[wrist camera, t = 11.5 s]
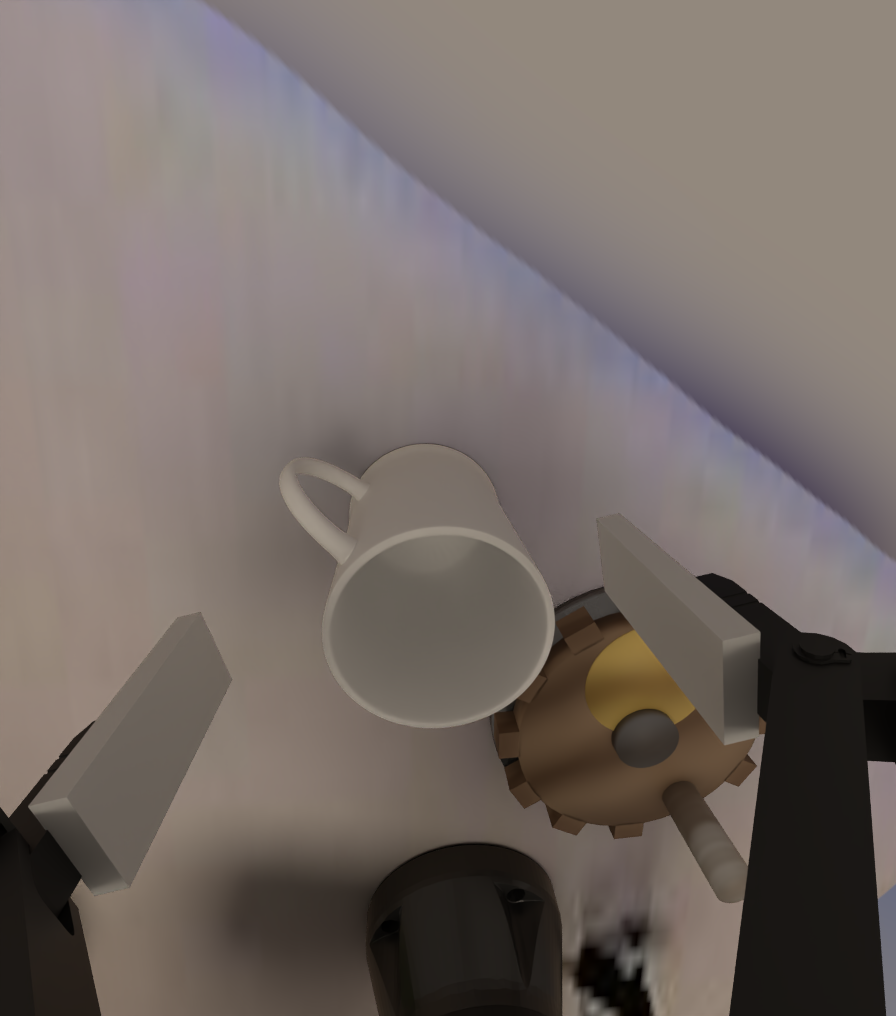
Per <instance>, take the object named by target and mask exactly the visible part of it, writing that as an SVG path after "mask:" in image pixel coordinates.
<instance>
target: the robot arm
mask: <svg viewBox="0 0 896 1016" xmlns="http://www.w3.org/2000/svg"><path fill="white" fill-rule="evenodd" d="M596 521H597V529H598V538H599V546H600V555H601V564H602V572H603V581H604V589H605V592H606V593H607V595H608V596H609V597H610V599H611V600H612V601H613V602H614V604H615V605H616V606H617V608H618V609H619V610H620V612H621V613H622V614H623V615H624V617H625V618H626V619H627V621H628V622H629V623H630V624H631V626H632V627H633V628H634V630H635V631H636V632H637V633H638V635H639V636H640V637H641V639H642V640H643V641H644V642H645V644H646V645H647V646H648V648H649V649H650V650H651V651H652V653H653V654H654V655H655V657H656V658H657V659H658V661H659V662H660V663H661V664H662V666H663V667H664V668H665V670H666V671H667V672H668V673H669V675H670V676H671V677H672V679H673V680H674V681H675V682H676V684H677V685H678V686H679V688H680V689H681V690H682V691H683V693H684V694H685V695H686V697H687V698H688V699H689V700H690V702H691V703H692V704H693V706H694V707H695V708H696V710H697V711H698V712H699V713H700V715H701V716H702V717H703V719H704V720H705V721H706V722H707V724H708V725H709V726H710V728H711V729H712V730H713V731H714V733H715V734H716V735H717V737H718V738H719V739H720V740H721V742H722V743H723V744H724V745H728V744H732V743H736V742H741V741H745V740H749V739H753V738H757V737H759V716H760V717H761V718H762V719H763V720H764V721H765V722H766V729H765V737H764V745H763V753H762V761H761V769H760V777H759V785H758V793H757V801H756V808H755V816H754V824H753V832H752V840H751V848H750V856H749V864H748V872H747V880H746V887H745V895H744V903H743V911H742V919H741V927H740V935H739V943H738V951H737V959H736V966H735V974H734V982H733V990H732V998H731V1006H730V1014H729V1016H886V1009H885V1008H886V1007H885V994H884V981H883V966H882V954H881V939H880V926H879V912H878V899H877V885H876V872H875V858H874V844H873V831H872V817H871V804H870V790H869V777H868V763H867V761H882V762H895V764H896V653H860V652H855V651H854V650H853V649H852V648H850V647H849V646H848V645H847V644H845V643H843V642H841V641H839V640H837V639H835V638H833V637H829V636H825V635H821V634H817V633H802V632H800V631H798V630H797V629H796V628H794V627H793V626H792V625H790V624H789V623H788V622H786V621H785V620H784V619H782V618H781V617H780V616H778V615H777V614H776V613H774V612H773V611H772V610H770V609H769V608H768V607H767V606H765V605H764V604H763V603H759V601H758V600H757V599H756V598H755V597H753V596H752V595H751V594H747V591H745V590H744V589H743V588H741V587H740V586H739V585H737V584H736V583H735V582H733V581H732V580H729V579H727V578H724V577H722V576H719V575H716V574H714V573H710V574H706V575H702V576H698V577H694V576H693V575H692V574H691V573H690V572H688V571H687V570H686V569H685V568H684V567H683V566H681V565H680V564H679V563H678V562H677V561H675V560H674V559H673V558H672V557H671V556H669V555H668V554H667V553H666V552H665V551H664V550H662V549H661V548H660V547H659V546H658V545H656V544H655V543H654V542H653V541H652V540H650V539H649V538H648V537H647V536H646V535H644V534H643V533H642V532H641V531H640V530H639V529H637V528H636V527H635V526H634V525H633V524H631V523H630V522H629V521H628V520H627V519H625V518H624V517H623V516H622V515H621V514H620V513H618V514H614V515H610V516H606V517H601V518H597V519H596ZM231 681H232V678H231V676H230V674H229V672H228V669H227V667H226V665H225V663H224V661H223V659H222V657H221V654H220V652H219V650H218V648H217V646H216V644H215V642H214V639H213V637H212V635H211V633H210V631H209V629H208V627H207V625H206V622H205V620H204V618H203V616H202V614H201V612H199V613H195V614H191V615H186V616H182V617H178V618H177V619H176V620H175V621H174V623H173V624H172V625H171V626H170V628H169V629H168V630H167V631H166V633H165V634H164V635H163V637H162V638H161V639H160V640H159V642H158V643H157V644H156V645H155V647H154V648H153V649H152V650H151V652H150V653H149V654H148V655H147V657H146V658H145V659H144V661H143V662H142V663H141V664H140V666H139V667H138V668H137V669H136V671H135V672H134V673H133V674H132V676H131V677H130V678H129V679H128V681H127V682H126V683H125V685H124V686H123V687H122V688H121V690H120V691H119V692H118V693H117V695H116V696H115V697H114V698H113V700H112V701H111V702H110V703H109V705H108V706H107V707H106V709H105V710H104V711H103V712H102V714H101V715H100V716H99V717H98V719H97V720H96V721H93V722H92V723H91V724H90V725H89V726H87V727H86V728H85V729H84V730H83V731H82V732H80V733H79V734H78V735H77V736H76V737H75V738H73V740H72V741H71V742H70V743H69V745H68V746H67V747H66V748H65V750H64V751H63V752H62V753H61V754H60V756H59V759H57V760H56V761H55V762H54V763H53V764H52V766H51V767H50V768H49V769H48V770H47V771H48V773H47V774H44V775H43V777H42V778H41V779H40V780H39V782H38V783H37V784H36V785H35V786H34V788H33V789H32V790H31V791H30V793H29V794H28V795H27V796H26V798H25V799H24V800H23V801H22V802H21V804H20V805H19V806H18V807H17V809H16V810H15V811H14V812H13V814H12V815H11V816H10V817H9V818H8V817H7V815H6V814H5V813H4V811H3V810H2V809H1V807H0V1016H101V1012H100V1007H99V1003H98V998H97V994H96V989H95V984H94V980H93V975H92V970H91V966H90V961H89V957H88V952H87V947H86V943H85V938H84V934H83V929H82V924H81V920H80V915H79V911H78V908H77V906H76V905H75V903H74V902H73V901H72V899H71V898H70V896H71V894H72V893H73V891H74V889H75V888H76V886H77V884H78V882H79V881H80V879H82V880H83V881H84V883H85V884H86V885H87V887H88V888H89V889H90V891H91V892H92V893H93V895H94V896H97V895H101V894H106V893H110V892H114V891H118V890H122V889H126V888H130V886H131V884H132V882H133V880H134V878H135V876H136V874H137V872H138V870H139V867H140V865H141V863H142V861H143V859H144V857H145V855H146V853H147V851H148V849H149V847H150V845H151V843H152V841H153V839H154V837H155V835H156V833H157V831H158V829H159V827H160V825H161V823H162V821H163V819H164V817H165V815H166V813H167V811H168V809H169V807H170V805H171V803H172V801H173V799H174V797H175V795H176V793H177V790H178V788H179V786H180V784H181V782H182V780H183V778H184V776H185V774H186V772H187V770H188V768H189V766H190V764H191V762H192V760H193V758H194V756H195V754H196V752H197V750H198V748H199V746H200V744H201V742H202V740H203V738H204V736H205V734H206V732H207V730H208V728H209V726H210V724H211V722H212V720H213V718H214V715H215V713H216V711H217V709H218V707H219V705H220V703H221V701H222V699H223V697H224V695H225V693H226V691H227V689H228V687H229V685H230V683H231ZM366 956H367V962H368V967H369V972H370V976H371V981H372V986H373V990H374V995H375V999H376V1004H377V1009H378V1013H379V1016H562V923H561V916H560V912H559V908H558V905H557V901H556V897H555V894H554V890H553V887H552V884H551V881H550V879H549V878H548V876H547V874H546V873H545V872H544V871H543V869H542V868H541V867H540V866H539V865H537V864H536V863H535V862H534V861H532V860H531V859H529V858H527V857H526V856H524V855H522V854H520V853H517V852H515V851H512V850H508V849H505V848H501V847H495V846H487V845H463V846H455V847H449V848H445V849H440V850H437V851H433V852H430V853H427V854H425V855H422V856H420V857H418V858H416V859H414V860H412V861H410V862H408V863H406V864H405V865H403V866H402V867H400V868H399V869H397V870H396V871H395V872H393V873H392V874H391V875H390V876H389V877H388V878H387V879H386V880H385V881H384V882H383V883H382V884H381V885H380V887H379V888H378V889H377V891H376V892H375V894H374V896H373V898H372V900H371V902H370V905H369V909H368V915H367V931H366Z"/></svg>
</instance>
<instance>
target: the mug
mask: <svg viewBox="0 0 896 1016" xmlns="http://www.w3.org/2000/svg"><path fill="white" fill-rule="evenodd" d="M296 474H306V475H311V476H315V477H318V478H320V479H323V480H325V481H328V482H330V483H332V484H334V485H336V486H338V487H340V488H342V489H343V490H345V491H346V492H348V493H349V494H351V495H352V498H351V502H350V509H349V525H348V529H347V532H346V533H345V532H344V531H342V530H341V529H339V528H338V527H337V526H336V525H334V524H333V523H332V522H331V521H330V520H329V519H328V518H327V517H326V516H325V515H324V514H323V513H322V512H321V511H320V510H319V509H318V508H317V507H316V506H315V505H314V504H313V503H312V501H311V500H310V499H309V498H308V496H307V495H306V494H305V492H304V491H303V489H302V487H301V486H300V484H299V481H298V479H297V476H296ZM279 486H280V491H281V494H282V497H283V499H284V501H285V503H286V505H287V506H288V508H289V510H290V511H291V513H292V514H293V515H294V517H295V518H296V519H297V521H298V522H299V523H300V524H301V526H302V527H303V528H304V529H305V530H306V531H307V532H308V533H309V534H310V535H311V536H312V537H313V538H314V539H315V540H316V541H317V542H318V543H319V544H320V545H321V546H322V547H323V548H324V549H325V550H327V551H328V552H329V553H330V554H331V555H332V556H333V557H334V558H335V559H336V560H337V562H338V563H337V567H336V570H335V574H334V577H333V581H332V584H331V588H330V591H329V595H328V598H327V602H326V606H325V610H324V614H323V621H322V644H323V650H324V654H325V658H326V661H327V664H328V666H329V668H330V670H331V672H332V674H333V676H334V678H335V679H336V681H337V682H338V684H339V685H340V687H341V688H342V689H343V690H344V691H345V693H346V694H347V695H348V696H349V697H350V698H351V699H353V700H354V701H355V702H356V703H357V704H359V705H360V706H361V707H363V708H364V709H366V710H367V711H369V712H371V713H372V714H374V715H376V716H378V717H380V718H383V719H385V720H388V721H390V722H393V723H397V724H401V725H405V726H410V727H417V728H447V727H454V726H460V725H464V724H468V723H472V722H475V721H478V720H480V719H483V718H485V717H488V716H490V715H492V714H494V713H496V712H498V711H499V710H501V709H503V708H504V707H506V706H507V705H509V704H510V703H511V702H513V701H514V700H515V699H517V698H518V697H519V696H520V695H521V694H522V693H523V692H524V691H525V690H526V689H527V688H528V687H529V686H530V685H531V684H532V682H533V681H534V680H535V679H536V677H537V676H538V674H539V673H540V671H541V669H542V668H543V666H544V664H545V662H546V660H547V658H548V655H549V652H550V649H551V646H552V642H553V637H554V630H555V614H554V606H553V602H552V598H551V595H550V592H549V589H548V587H547V584H546V582H545V580H544V578H543V577H542V575H541V573H540V571H539V570H538V568H537V566H536V565H535V563H534V561H533V559H532V558H531V556H530V554H529V553H528V551H527V549H526V548H525V546H524V544H523V543H522V541H521V539H520V538H519V536H518V534H517V533H516V531H515V529H514V528H513V526H512V524H511V523H510V521H509V519H508V518H507V516H506V514H505V513H504V511H503V509H502V508H501V506H500V504H499V503H498V498H497V495H496V492H495V489H494V487H493V484H492V482H491V481H490V479H489V477H488V476H487V474H486V473H485V472H484V470H483V469H482V468H481V467H480V466H479V465H478V464H477V463H476V462H475V461H473V460H472V459H471V458H469V457H468V456H466V455H465V454H463V453H461V452H459V451H457V450H455V449H452V448H449V447H446V446H441V445H435V444H415V445H409V446H405V447H402V448H399V449H396V450H394V451H391V452H389V453H387V454H386V455H384V456H382V457H381V458H379V459H378V460H377V461H376V462H374V463H373V464H372V465H371V466H370V467H369V468H368V469H367V470H366V471H365V473H364V474H363V475H362V477H361V478H360V479H359V478H357V477H355V476H353V475H352V474H350V473H348V472H346V471H345V470H343V469H341V468H339V467H336V466H334V465H332V464H330V463H327V462H324V461H321V460H318V459H314V458H308V457H301V458H296V459H293V460H292V461H290V462H289V463H288V464H287V465H286V466H285V467H284V469H283V470H282V472H281V475H280V479H279Z"/></svg>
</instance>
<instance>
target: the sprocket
mask: <svg viewBox="0 0 896 1016" xmlns="http://www.w3.org/2000/svg"><path fill="white" fill-rule="evenodd" d="M555 623H556V625H557V627H558V629H559V630H560V632H561V634H562V636H563V638H562V639H561V640H559V641H558V642H557V643H556V644H555V645H553V646H552V647H551V649H550V652H549V655H548V658H547V660H546V662H545V664H544V666H543V668H542V669H541V671H540V673H539V674H538V676H537V677H536V679H535V680H534V681H533V682H532V684H531V685H530V686H529V687H528V688H527V689H526V690H525V691H524V692H523V693H522V694H521V695H520V696H519V697H518V698H517V699H516V702H515V706H514V710H513V711H506V712H496V713H494V739H495V744H496V748H497V752H498V756H499V759H503V758H514V757H518V758H519V760H517V761H515V762H513V763H512V764H510V765H508V766H506V767H504V768H505V773H506V777H507V781H508V785H509V789H510V791H511V793H512V794H513V795H514V796H515V798H516V799H517V800H518V801H519V803H520V804H521V805H522V806H523V808H524V809H525V808H527V807H528V806H530V805H532V804H534V803H536V802H538V801H540V800H541V801H543V802H544V803H545V805H546V808H547V811H548V815H549V818H550V821H551V824H552V828H555V829H558V830H561V831H564V832H567V833H570V834H573V835H577V834H578V833H579V832H580V830H581V829H582V828H583V827H584V825H585V824H586V823H590V824H596V825H608V826H609V828H610V831H611V833H612V835H613V838H614V839H618V838H627V837H637V836H642V831H643V824H644V823H645V822H649V821H653V820H657V819H660V818H663V817H666V816H669V815H671V817H672V819H673V820H674V822H675V824H676V826H677V827H678V829H679V831H680V833H681V834H682V836H683V838H684V840H685V841H686V843H687V845H688V847H689V849H690V850H691V852H692V854H693V856H694V857H695V859H696V861H697V863H698V864H699V866H700V868H701V870H702V871H703V873H704V875H705V877H706V879H707V880H708V882H709V884H710V886H711V887H712V889H713V891H714V893H715V894H716V896H717V898H718V899H719V900H720V901H722V902H725V903H735V902H739V901H742V900H744V895H745V887H746V880H747V872H748V866H747V864H746V863H745V861H744V860H743V858H742V857H741V855H740V854H739V852H738V851H737V849H736V848H735V846H734V845H733V843H732V842H731V840H730V839H729V837H728V836H727V834H726V833H725V831H724V829H723V828H722V826H721V825H720V823H719V822H718V820H717V819H716V817H715V816H714V814H713V813H712V811H711V810H710V808H709V807H708V805H707V804H706V802H705V801H704V799H703V798H704V797H706V796H707V795H708V794H710V793H711V792H713V791H714V790H715V789H716V788H717V787H719V786H720V785H721V784H722V783H723V782H725V781H726V782H728V783H731V784H733V785H736V786H738V787H739V786H740V784H741V783H742V782H743V781H744V780H745V779H746V778H747V777H748V775H749V774H750V773H751V772H752V771H753V770H754V769H755V768H756V766H757V765H756V764H755V763H754V762H753V760H752V759H751V758H750V757H749V756H748V754H747V753H748V752H749V750H750V749H751V747H752V744H753V742H754V740H755V738H753V739H749V740H745V741H741V742H736V743H732V744H728V745H724V744H723V743H722V742H721V740H720V739H719V738H718V737H717V735H716V734H715V733H714V731H713V730H712V729H711V728H710V726H709V725H708V724H707V722H706V721H705V720H704V719H703V717H702V716H701V715H700V713H699V712H698V711H697V710H696V708H695V707H694V706H693V704H692V703H691V702H690V700H689V699H688V698H687V697H686V695H685V694H684V693H683V691H682V690H681V689H680V688H679V686H678V685H677V684H676V682H675V681H674V680H673V679H672V677H671V676H670V675H669V673H668V672H667V671H666V670H665V668H664V667H663V666H662V664H661V663H660V662H659V661H658V659H657V658H656V657H655V655H654V654H653V653H652V651H651V650H650V649H649V648H648V646H647V645H646V644H645V642H644V641H643V640H642V639H641V637H640V636H639V635H638V633H637V632H636V631H635V630H634V628H633V627H632V626H631V624H630V623H629V622H628V621H627V619H626V618H625V617H624V615H623V614H622V613H621V612H618V613H614V614H610V615H607V616H604V617H601V618H599V619H596V620H593V619H592V617H591V616H590V614H589V613H588V612H587V610H586V609H585V607H584V606H583V607H581V608H579V609H577V610H576V611H574V612H572V613H570V614H569V615H567V616H565V617H563V618H562V619H560V620H558V621H556V622H555ZM765 729H766V722H765V721H764V720H763V719H762V718H761V717H760V716H759V734H765Z"/></svg>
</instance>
